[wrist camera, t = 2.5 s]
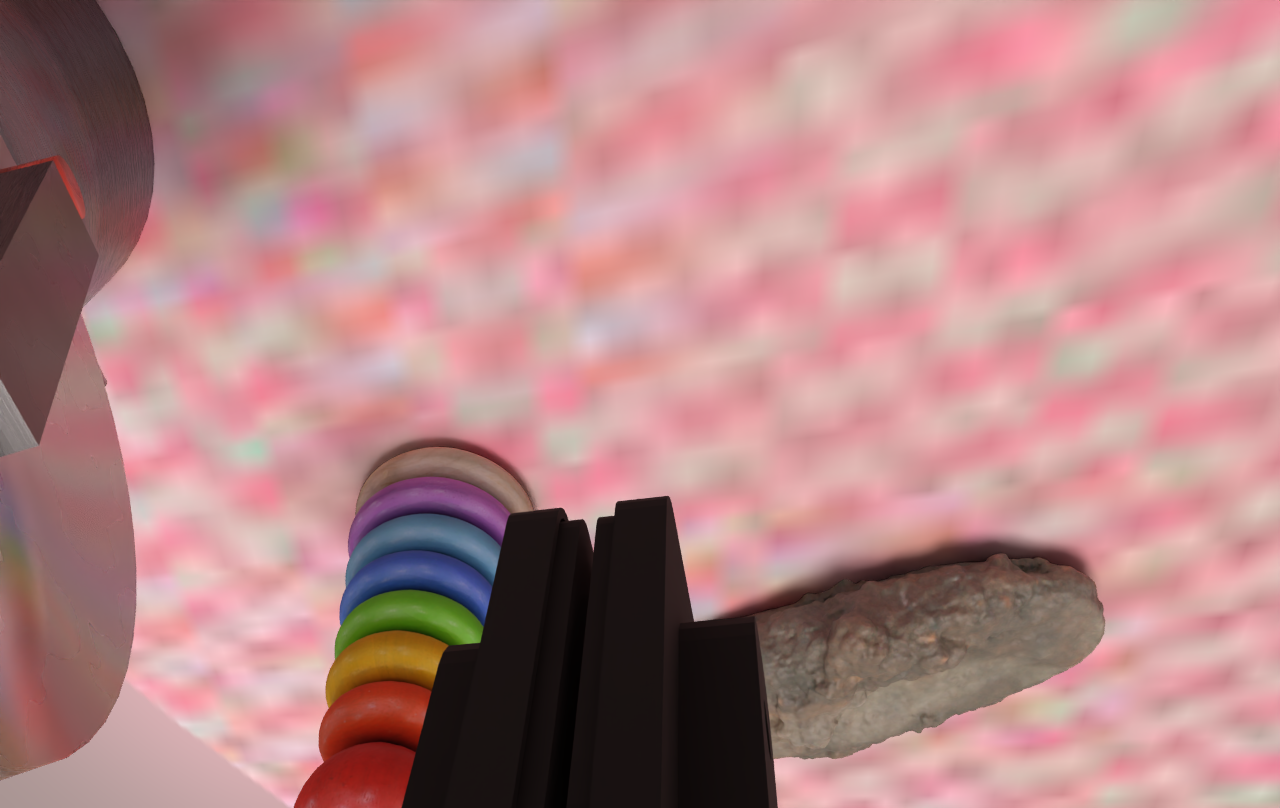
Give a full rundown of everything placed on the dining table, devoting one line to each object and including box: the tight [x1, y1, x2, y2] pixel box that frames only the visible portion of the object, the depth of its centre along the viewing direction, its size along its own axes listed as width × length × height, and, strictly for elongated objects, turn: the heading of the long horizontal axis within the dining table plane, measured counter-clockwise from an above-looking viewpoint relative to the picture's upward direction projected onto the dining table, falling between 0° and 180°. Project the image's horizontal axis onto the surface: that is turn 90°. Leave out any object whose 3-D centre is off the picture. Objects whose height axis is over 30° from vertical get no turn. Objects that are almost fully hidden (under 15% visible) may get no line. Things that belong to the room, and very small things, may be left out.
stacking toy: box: [294, 447, 533, 808], centre depth 40 cm, size 8×8×19 cm
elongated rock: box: [745, 553, 1105, 759], centre depth 52 cm, size 35×5×10 cm
